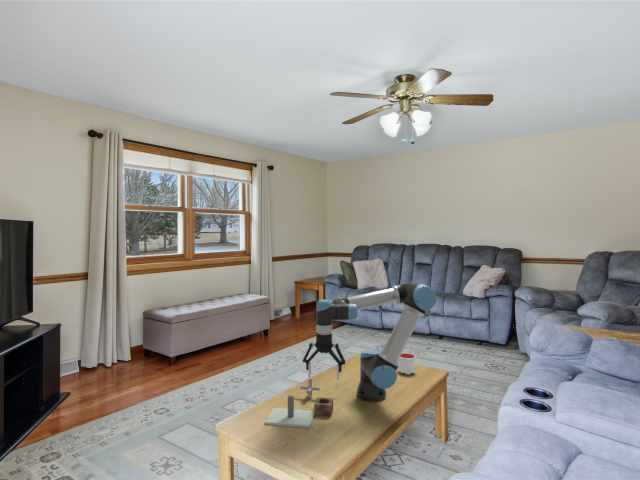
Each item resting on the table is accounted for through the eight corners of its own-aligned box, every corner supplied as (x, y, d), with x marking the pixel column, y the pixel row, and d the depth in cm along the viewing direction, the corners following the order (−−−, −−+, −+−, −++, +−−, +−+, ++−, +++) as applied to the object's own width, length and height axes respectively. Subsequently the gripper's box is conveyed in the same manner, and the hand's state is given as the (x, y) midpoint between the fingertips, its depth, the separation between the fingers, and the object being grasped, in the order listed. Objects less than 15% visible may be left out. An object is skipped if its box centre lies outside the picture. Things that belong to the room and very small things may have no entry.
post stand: (314, 413, 178) (315, 391, 178) (309, 428, 165) (309, 405, 164) (273, 409, 181) (273, 389, 181) (265, 424, 167) (265, 401, 167)
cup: (405, 368, 239) (405, 352, 239) (418, 372, 232) (418, 356, 231) (394, 371, 233) (394, 355, 233) (408, 376, 225) (408, 359, 225)
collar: (333, 408, 183) (333, 398, 183) (331, 416, 175) (331, 405, 175) (316, 407, 184) (316, 397, 184) (314, 415, 176) (314, 404, 176)
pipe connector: (317, 403, 189) (317, 383, 189) (298, 401, 191) (298, 381, 191) (321, 394, 199) (321, 375, 199) (303, 393, 201) (303, 374, 201)
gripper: (351, 332, 181) (350, 376, 181) (299, 329, 185) (299, 373, 185) (350, 336, 174) (349, 382, 174) (296, 333, 177) (296, 379, 178)
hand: (323, 377), depth 180 cm, fingers open, 13 cm apart
